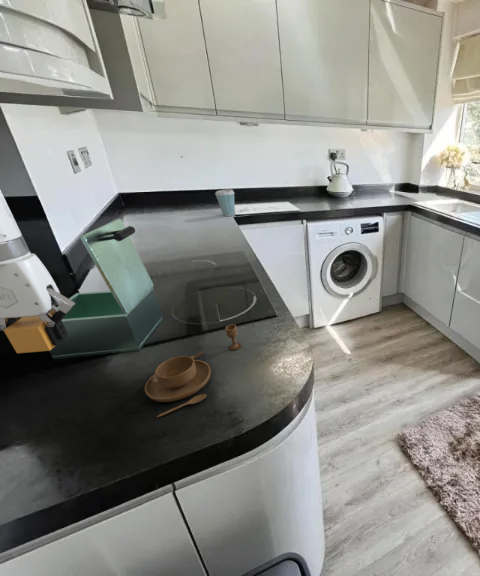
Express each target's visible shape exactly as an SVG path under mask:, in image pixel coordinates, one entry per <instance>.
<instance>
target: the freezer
mask: <svg viewBox="0 0 480 576" xmlns="http://www.w3.org/2000/svg"><path fill="white" fill-rule="evenodd" d="M68 299H70V300H71V301H73V302H74V303H75V304H76V305H75V306H74V307H73V308H72V309H71V310H70V311H69V312H68V313H67V314H66V315H65V317H64V319H62V320H61V321H62V323H63V325H64V327H65V329H66V331H67V334H68V337H67V338H66V339H65V340H64V341H63V342H61V343H60V344H59V345H56V346H55V347H54V348H52V349H51V350H50V351H48V352H49V354H50V355H51V358H52V359H53V360H62V359H72V358H71V357H73V358H80V357H79V356H83V357H91V356H102V355H109V354H108V353H112V354H121V353H132V352H141V350H142V349H143V347H144V346H145V344H146V343H147V342H148V341H149V339H150V338H151V337H150V336H152V335H153V334H154V333H155V331H156V330H157V328H158V327H159V326H160V325H161V323H162V322H163V321H164V316H163V313H162V311H161V307H160V304H159V301H158V298H157V295H156V293H155V289H154V287H153V288H152V289H151V290H150V291H149V292H148V293H147V294H146V295H145V296H144V297H143V298H142V299H141V300H140V301H139V302H138V303H137V304H136V305H135V306H134V307H133V308H132V309H131V310H130V311H129V312H128V313H127V314H123V312H122V310H121V308H120V307H119V305H118V303H117V302H116V300H115V298H114V296H113V295H112V293H111V291H110V290H104V291H101V290H100V291H89V292H76V293H74V294H73V295H72V296H70V297H69V298H68ZM56 308H57V309H58V310H59V309H60V306H59V305H57V306H56ZM47 313H48V314H50V313H49V312H47ZM153 332H154V333H153ZM147 340H148V341H147Z"/></svg>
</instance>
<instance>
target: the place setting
mask: <svg viewBox="0 0 480 576" xmlns="http://www.w3.org/2000/svg"><path fill="white" fill-rule="evenodd" d="M225 333H226V336H227V337H228V338H229V339H230V340H231V344H230V345H229V346H228V349H229V351H238V350H239V349H241V348H242V344H241V343H240V342H237V339H236V337H237V336H238V327H237V325H236V324H234V323H233V324H228V325H227V326H225ZM202 355H204V352H203V350H201V351H199V352H197V353H196V354H193V355H191V356H189V355H178V356H174V357H170V358H168V359H166V360H165V361H163V362H161V363H160V364H158V366H157V367H156V368H155V370H154V374H152V375H151V376H150V377H149V379H148V380H147V381H146V383H145V385H144V392H145V395H146V396H147V398H149V399H150V400H152V401H154V402H157V403H172V402H173V403H174V402H178V401H181V400H184V399H186V398H189V397H191V396H193V395H194V394H197V392H199V391H200V390H201V389H203V388H204V387H205V386H206V384H207V383H208V382H209V380H210V378H211V374H212V370H211V367H210V365H209V363H208V362H206V361H204V360H201V359H197V358H199V357H200V356H202ZM206 397H207V394H206V393H202V394H198V395H196V396H194V397H192V398H191V399H190V400H188V401H186V402H185V403H182V404H180V405H177V406H175V407H173V408H171V409H168V410H166V411H164V412H162V413H160V414H158V415H156V418H161V417H162V416H165V415H167V414H169V413H171V412H174V411H176V410H178V409H180V408H182V407H184V406H188V405H196V404H198V403H200V402H202V401H203V400H205V399H206Z"/></svg>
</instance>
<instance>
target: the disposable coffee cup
mask: <svg viewBox="0 0 480 576" xmlns="http://www.w3.org/2000/svg"><path fill="white" fill-rule="evenodd" d="M214 195H215V197H216V200H217V202H218V205H219V208H220V211H221V213H222V215H223V216H224V217H232V216H235V215H236V207H235V206H236V205H235V204H236V203H235V191H234V189H231V188H225V189H220V190H217V191H215V193H214Z"/></svg>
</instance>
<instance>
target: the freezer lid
mask: <svg viewBox="0 0 480 576" xmlns="http://www.w3.org/2000/svg"><path fill="white" fill-rule="evenodd" d="M135 233H136V229H135V227H134V226H131V225H129V226H125V224H124V222H123V220H122V219H121V218H115V219H114V220H111V221H110V222H108V223H106V224H104V225H101V226H100V227H97V228H95V229H93V230H91V231H89V232H86V233H84V234H83V235H81V236H79V239H80V240H81V243H82V244H83V246H84V247H85V249H86V251H87V253H88V254H89V256H90V258H91V260H92V262H93V263H94V265H95V267H96V268H97V270H98V273H99V274H100V275H101V277H102V279H103V281H104V282H105V284H106V286H107V287H108V290H109V291H111V293H112V295H113V296H114V298H115V300H116V302H117V303H118V305H119V307H120V308H121V310H122V312H123V314H127V313H128V312H129V311H130V310H131V309H132V308H133V307H134V306H135V305H136V304H137V303H138V302H139V301H140V300H141V299H142V298H143V297H144V296H145V295H146V294H147V293H148V292H149V291H150V290H151V289H152V288H153V289H154V287H155V285H154V283H153V280H152V278H151V276H150V275H149V273H148V271H147V268H146V266H145V265H144V262H143V260H142V258H141V257H140V254H139V252H138V251H137V248H136V246H135V244H134V242H133V240H132V238H131V237H130V236H132V235H134V234H135Z"/></svg>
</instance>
